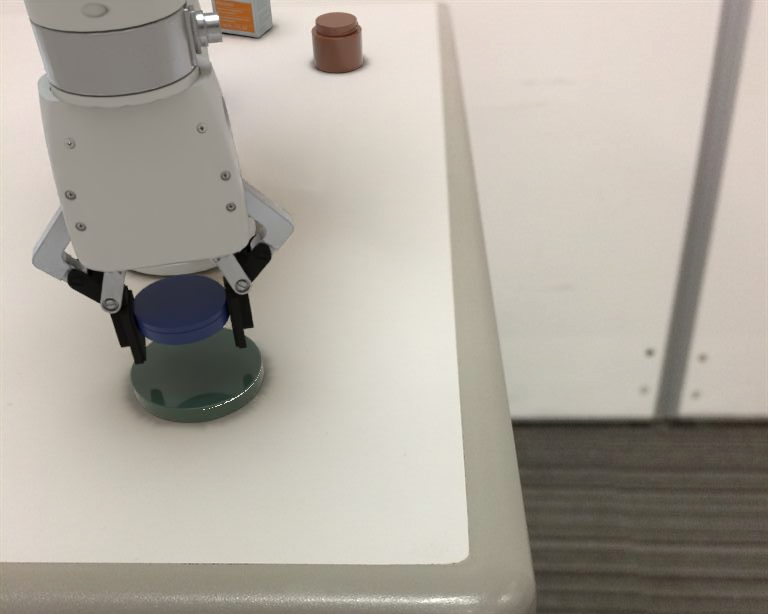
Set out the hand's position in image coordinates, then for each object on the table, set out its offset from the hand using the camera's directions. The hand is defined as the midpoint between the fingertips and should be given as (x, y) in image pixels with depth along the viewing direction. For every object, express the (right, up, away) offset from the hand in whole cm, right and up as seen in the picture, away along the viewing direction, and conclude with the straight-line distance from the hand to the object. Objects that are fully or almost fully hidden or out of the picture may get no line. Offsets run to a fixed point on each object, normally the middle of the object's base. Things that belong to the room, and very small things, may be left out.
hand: (190, 341), depth 54 cm
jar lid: (0, +2, -2) cm, 3 cm away
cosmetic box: (-4, +48, +47) cm, 67 cm away
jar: (+8, +40, +39) cm, 57 cm away
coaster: (0, -2, +3) cm, 4 cm away
